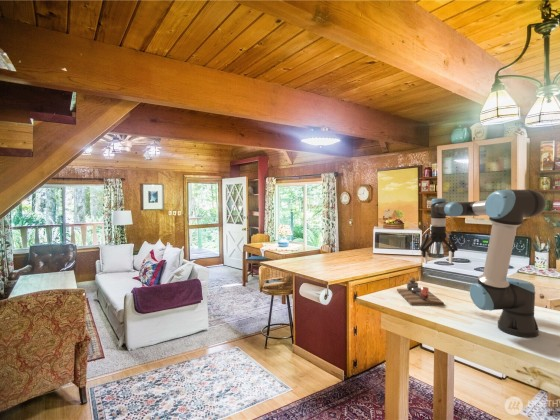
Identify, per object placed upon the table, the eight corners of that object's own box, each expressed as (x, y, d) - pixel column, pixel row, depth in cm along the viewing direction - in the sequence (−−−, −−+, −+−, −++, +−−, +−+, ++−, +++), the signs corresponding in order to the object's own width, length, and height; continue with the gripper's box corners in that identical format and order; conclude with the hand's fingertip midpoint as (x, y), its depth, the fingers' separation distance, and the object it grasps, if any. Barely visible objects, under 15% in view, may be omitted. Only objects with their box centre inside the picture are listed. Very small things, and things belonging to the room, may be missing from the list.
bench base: (443, 305, 183) (444, 288, 182) (410, 305, 184) (410, 288, 183) (425, 291, 209) (426, 276, 208) (396, 291, 210) (397, 276, 209)
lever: (430, 300, 185) (431, 288, 185) (420, 300, 186) (420, 288, 185) (418, 290, 205) (418, 279, 205) (408, 290, 205) (409, 279, 205)
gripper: (458, 224, 188) (457, 261, 189) (413, 225, 190) (413, 261, 191) (464, 226, 181) (464, 264, 182) (417, 226, 183) (417, 264, 184)
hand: (438, 263), depth 187 cm, fingers open, 13 cm apart
